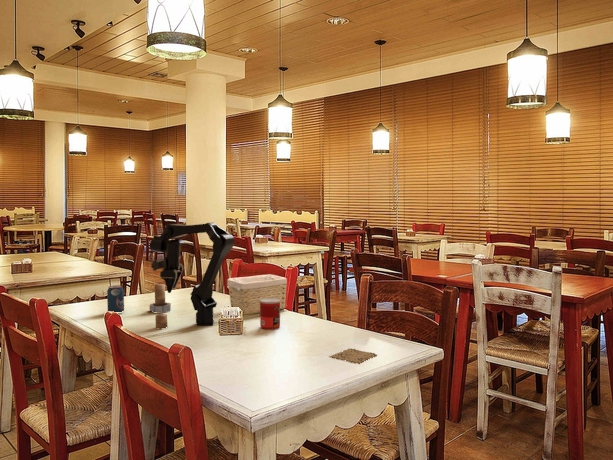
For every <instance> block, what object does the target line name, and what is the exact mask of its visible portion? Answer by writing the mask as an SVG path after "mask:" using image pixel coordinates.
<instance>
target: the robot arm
mask: <svg viewBox="0 0 613 460" xmlns="http://www.w3.org/2000/svg"><path fill="white" fill-rule="evenodd" d="M202 233H203V234H204V233H205V234H207V236H208V238H209V240H210V241H211V243H212V254H211V257H210V261H209V263H208V265H207V268H206V270H205V271H204V274H203V277H202V278H201V279H202V280H201V282H200V284H197V285H194V286H193V287H192V291H191V293H190V301H191V303H192V306H193V310H194V311H196V312H195V324H196V326H213V325H214V323H215V320H214V308H216V307H217V305H218V302H217V301H216V300H215V299H214V297H213V292H214V291H213V285H214V283H215V281H216V278H217V277H218V276H217V275H218V274H219V271H220V269H221V266H222V264H223V262H224V259H225V257H227V255H228V254H229V253H230V252H231V250H232V248H233V247H234V246H235V244H236V239H235V237H234V236H233V235H232V234H230V233H229V232H227V230H225V229H223V228H222V227H220V226H219V225H218V224H217V223H215V222H206V223H199V224H190V225H188V224H183V223H182V224H181V223H172V224H171V223H170V224H166V225H165V227H164V230H163V232H162V233H161V234H160V235H153V237H152V239H151V240H150V243H149V249H150V250H151V251H152V252H156V253H157V252H158V253H163V254H164V253H165V256H164V257H163V259H160V260H158V259H156V260H153V261H152V262H151V263H150V264H151V266H150V268H152V271H153V272H154V271H155V272H156V271H157V270H160V269H163V270H161V271H160V273H159V274H160V275H159V277H160V278H161V279H162V280H163V281H164V282H165V283H164V284H165V288H166V290H167V293H168V294H171V293H172V290H173V289H176V287H177V285H178V282H179V280H180V278H181V275H182V274H183V271H184V265H183V263H180V262H181V261H180V259H181V257H182V256H181V245H184V244H186V242H185V241H184V240H183V239H182V238H181V237H184V236H188V235H193V234H202Z"/></svg>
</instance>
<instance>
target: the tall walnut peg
mask: <svg viewBox="0 0 613 460" xmlns="http://www.w3.org/2000/svg"><path fill="white" fill-rule="evenodd" d="M165 302H166V283H156V284H154V303H155V306H164V305H165Z"/></svg>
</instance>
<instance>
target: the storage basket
mask: <svg viewBox="0 0 613 460" xmlns="http://www.w3.org/2000/svg"><path fill="white" fill-rule="evenodd" d="M226 281H227V287H228V294H229V300H230V308H231V307H239V308H240V309H241V310H242V311H243V313H244V314H243V315H252V314H260V300H261V299H266V298H274V299H279V300H280V310H283V309H285V308H286V296H287V295H286V294H287V288H288V287H287V286H288V279H287V277H283V276H279V275H276V274H272V273H271V274H269V273H268V274H260V275H252V276H242V277H241V276H239V277H229V278H228V279H227V280H226Z"/></svg>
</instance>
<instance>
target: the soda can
mask: <svg viewBox="0 0 613 460" xmlns="http://www.w3.org/2000/svg"><path fill="white" fill-rule="evenodd" d="M124 291H125V290H124V288H123V286H122V285H118V284H117V285H109V286H108V289H107V291H106V294H107V295H106V296H107V297H106V298H107V301H106V302H107V312H108V311H114V312H122V311H123V312H124V311H125V299H124V298H125V292H124Z"/></svg>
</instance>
